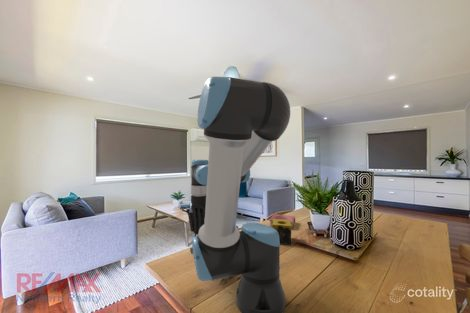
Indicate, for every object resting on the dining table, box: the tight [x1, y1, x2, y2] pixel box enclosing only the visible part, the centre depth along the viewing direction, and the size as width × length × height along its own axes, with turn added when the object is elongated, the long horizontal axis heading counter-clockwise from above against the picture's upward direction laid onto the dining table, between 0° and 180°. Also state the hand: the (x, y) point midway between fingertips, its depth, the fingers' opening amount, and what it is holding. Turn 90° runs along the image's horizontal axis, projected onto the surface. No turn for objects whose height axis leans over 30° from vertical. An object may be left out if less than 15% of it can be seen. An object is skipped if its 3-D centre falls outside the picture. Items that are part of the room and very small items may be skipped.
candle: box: [272, 219, 292, 246], centre depth 111 cm, size 10×10×10 cm
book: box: [268, 213, 296, 231], centre depth 136 cm, size 14×15×5 cm
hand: (198, 248), depth 90 cm, fingers closed
